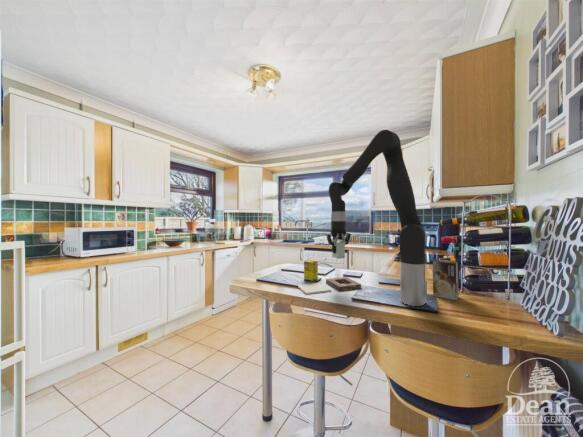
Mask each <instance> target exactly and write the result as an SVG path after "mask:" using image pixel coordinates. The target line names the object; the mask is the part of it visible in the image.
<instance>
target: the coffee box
mask: <svg viewBox="0 0 583 437" xmlns="http://www.w3.org/2000/svg"><path fill="white" fill-rule="evenodd" d="M432 297H438V298H441V299H442V298H443V299H447V300H451V301H452V300H453V301H457V300H458V299H459V261H454V260H445V259H434V260H433V261H432Z"/></svg>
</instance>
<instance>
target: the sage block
mask: <svg viewBox="0 0 583 437" xmlns="http://www.w3.org/2000/svg"><path fill="white" fill-rule="evenodd" d="M345 248H346V245H345V243H344V242H340V240H339V241H338V240H337V243H336V253H333V252H332V251H331V253H332V254H331V255H332V258H334V259H341V260H342V259H345V258H346V254H345V253H346V252H345V250H346V249H345Z"/></svg>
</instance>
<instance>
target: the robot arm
mask: <svg viewBox="0 0 583 437" xmlns="http://www.w3.org/2000/svg"><path fill="white" fill-rule="evenodd" d="M381 154H382V155H383V156H384V159H385V163H386V187H387V190H388V194H389V197H390V199H391V201H392V204H393V206H394V208H395V210H396V212H397V214H398V217H399V222H400V227H401V230H400V232H399V240H398V241H399V257H400V260H399V261H400V263H399V264H400V266H399V267H400V270H399V271H400V284H399V286H400V303H402V302H403V303H404V304H403V303H402V304H403V305H405V304H408V305H407V306H409V305H415V306H421V305H424V304H425V303H427V304H428V282H427V280H426V231H425V229H424V227H423V225H422V222H421V219H420V217H419V215H418V211H417V207H416V206H417V204H416V199H415V194H414V189H413V184H412V182H411V179H410V176H409V174H408V169H407V167H406V163H405V161H404V157H403V152H402V145H401V140H400V137H399V135H398V134H397V133H396V132H393V131H391V130H389V129H382V130H379V131H378V132H377V133H376V134H375V136H373V137H372V139H371V141H370V142H369V143H368V145H367V146H366V148H365V149H364V150H363V151H362V153H361V154H360V155H359V157H357V159H356V160H355V161H354V163H353V164H352V165H351V166H350V167H348V169H347V170H345V172H344V173H343V175H342V181H332V182H331V183H330V184H329V186H328V195H329V198H330V202H331V203H330V204H331V214H330V216H331V217H330V219H331V220H330V233H325V236H326V240H327V243H328V245H330V246H331V253H332V252H333V253H336V243H337V241H338V240H339V242H344V243H345V246H347V245H349V242H350V239H351V236H352V234H351V233H349V232H347V231H346V229H347V223H346V222H347V219H346V218H347V215H346V202H345V201H344V200H343V199H342V196H345V195H346V194H348V193H349V191H350V190H351V188H352V187H353V186H354V183H356V182H358V180H359V179H360V178H362V176H363V175H364V174H365V173H366V171H367V170H368V167H369V166H370V164H372V161H373V160H374V159H376V158H377V157H378V156H379V155H381ZM425 305H426V304H425ZM425 305H424V306H425Z"/></svg>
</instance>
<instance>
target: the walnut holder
mask: <svg viewBox="0 0 583 437" xmlns="http://www.w3.org/2000/svg"><path fill="white" fill-rule="evenodd" d="M325 283H326V284H328V285H329V286H331V287H332V288H334V289H335V290H337V291H339V292H341V291H343V292H344V291H348V290H357V289H358V290H359V289H362V283H360V282H357V281H355V280H353V279H351V278H350V277H348V276H342V277H333V278H325Z"/></svg>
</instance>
